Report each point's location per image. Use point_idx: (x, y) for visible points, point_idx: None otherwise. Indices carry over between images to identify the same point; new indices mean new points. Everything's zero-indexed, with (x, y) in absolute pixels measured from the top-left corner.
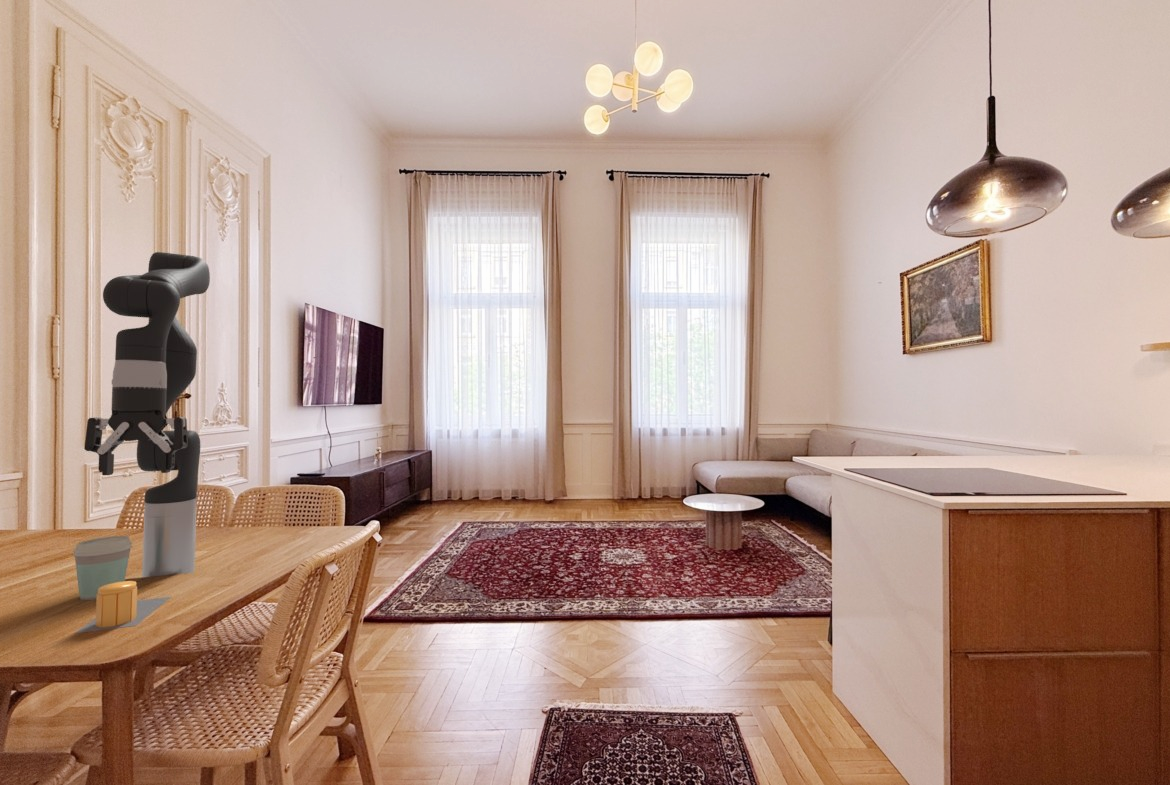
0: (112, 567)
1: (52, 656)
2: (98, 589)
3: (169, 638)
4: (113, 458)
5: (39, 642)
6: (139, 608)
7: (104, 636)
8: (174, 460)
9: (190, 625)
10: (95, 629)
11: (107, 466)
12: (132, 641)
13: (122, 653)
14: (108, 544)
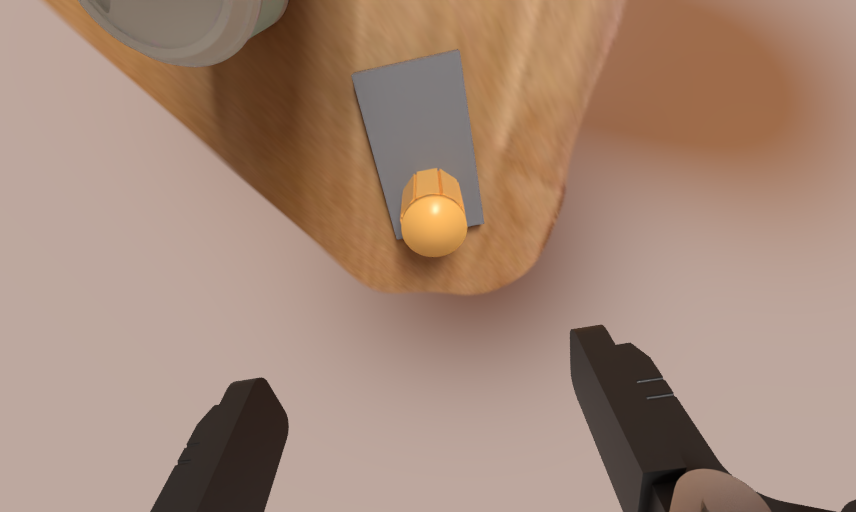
0: (263, 16)
1: (405, 272)
2: (410, 247)
3: (547, 239)
4: (215, 486)
5: (335, 220)
6: (432, 130)
7: None
8: (676, 401)
9: (560, 190)
10: None
11: (271, 475)
12: (492, 241)
13: (503, 278)
14: (224, 33)
